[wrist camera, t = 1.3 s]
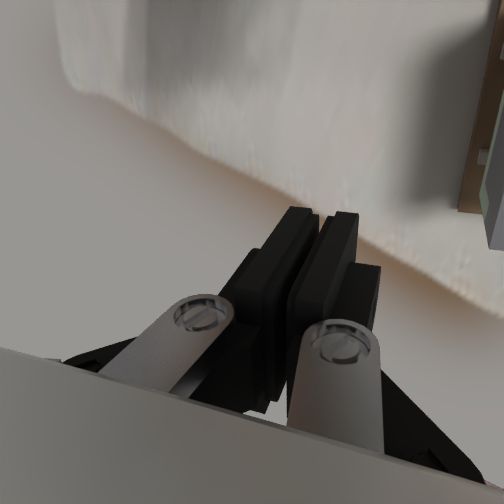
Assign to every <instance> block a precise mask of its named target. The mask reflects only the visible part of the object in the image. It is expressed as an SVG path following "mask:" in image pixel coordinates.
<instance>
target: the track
mask: <svg viewBox="0 0 504 504" xmlns="http://www.w3.org/2000/svg"><path fill="white" fill-rule="evenodd" d="M503 90H504V0H500V4H499V8H498V13H497V18H496V23H495V28H494V32H493V37H492V42H491V47H490V52H489V56H488V61H487V66H486V71H485V76H484V80H483V85H482V90H481V95H480V100H479V104H478V109H477V114H476V119H475V124H474V128H473V133H472V138H471V143H470V148H469V152H468V157H467V162H466V167H465V172H464V176H463V181H462V186H461V191H460V196H459V200H458V205H457V208H458V212H465V213H475V214H483V213H482V207H481V202H480V196H479V193H480V189H481V185H482V180H483V176H484V172H485V167H486V163H487V159H488V155H489V150H490V146H491V142H492V137H493V133H494V129H495V124H496V120H497V116H498V112H499V107H500V103H501V99H502V94H503Z"/></svg>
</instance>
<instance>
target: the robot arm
mask: <svg viewBox="0 0 504 504" xmlns="http://www.w3.org/2000/svg"><path fill="white" fill-rule="evenodd" d="M358 225H359V214H358V213H349V212H340V211H337V212H336V214H335V216H328V217H327V219H326V220H325V222H324V225H323V226H322V228H321V230H320V232H319V215H317V214H313V212H312V209H311V208H303V207H294V206H290V207H289V209H288V210H287V212H286V213H285V214H284V216H283V217H282V219H281V220H280V222H279V223H278V224H277V226H276V227H275V229H274V230H273V232H272V233H271V234H270V236H269V237H268V239H267V240H266V242H265V243H264V244H263V246H262V247H261V249H258V248H253V249H252V250H251V251H250V252H249V253H248V255H247V256H246V258H245V259H244V260H243V262H242V263H241V264H240V266H239V267H238V268H237V270H236V271H235V273H234V274H233V275H232V277H231V278H230V279H229V281H228V282H227V283H226V285H225V286H224V287H223V289H222V290H221V291H220V293H219V294H218V296H217V295H211V294H199V295H194V296H189V297H187V298H184V299H182V300H180V301H178V302H177V303H175V304H174V305H173V306H171V307H170V308H169V309H168V310H167V311H166V312H165V313H164V314H163V315H161V316H160V317H159V318H158V319H157V320H156V321H155V322H154V323H153V324H151V325H150V326H149V327H148V328H147V329H146V330H145V331H144V332H143V333H141V334H140V335H139V336H138V337H135V338H132V339H128V340H125V341H122V342H118V343H115V344H112V345H109V346H106V347H103V348H99V349H96V350H93V351H89V352H86V353H83V354H80V355H77V356H75V357H72V358H70V359H68V360H66V361H64V362H63V363H62V362H61V360H60V359H46V358H45V359H44V358H40V357H36V356H32V355H29V354H25V353H21V352H17V351H13V350H10V349H6V348H2V347H0V504H504V489H502V488H500V487H498V486H496V485H494V484H491V483H489V482H487V481H485V480H484V479H483V476H482V474H481V472H480V471H479V470H478V469H477V467H476V466H475V465H474V464H473V462H472V461H471V460H470V459H469V458H468V457H467V456H466V455H465V454H464V453H463V452H462V451H461V450H460V449H459V448H458V447H457V446H456V445H455V444H454V443H453V442H452V441H451V440H450V439H449V438H448V437H447V436H446V435H445V434H444V433H443V432H442V431H441V430H440V429H439V428H438V427H437V425H436V424H435V423H433V421H431V419H430V418H429V417H427V416H426V415H425V413H424V412H423V411H422V410H420V408H419V407H418V406H417V405H416V404H415V403H414V402H413V401H412V400H411V399H410V398H409V397H408V396H407V395H406V394H405V393H404V392H403V391H402V390H401V389H400V388H399V387H398V386H397V385H396V384H395V383H394V382H393V381H392V380H391V379H390V378H389V377H388V376H387V375H386V374H385V373H384V372H383V371H382V370H381V369H380V347H379V343H378V340H377V338H376V337H375V335H373V333H372V328H373V323H374V318H375V312H376V305H377V299H378V291H379V283H380V282H379V281H380V274H381V266H374V265H368V264H361V263H355V260H356V247H357V236H358ZM286 380H287V418H288V419H287V425H286V426H284V425H280V424H277V423H273V422H270V421H266V420H263V419H259V418H256V417H252V416H248V415H245V414H243V413H244V412H247V411H249V410H252V411H256V412H260V413H263V414H265V413H266V410H267V408H268V405H269V403H270V401H274V402H277V401H278V400H279V398H280V395H281V393H282V390H283V388H284V385H285V383H286Z"/></svg>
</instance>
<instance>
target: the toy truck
mask: <svg viewBox="0 0 504 504" xmlns="http://www.w3.org/2000/svg"><path fill="white" fill-rule="evenodd" d="M479 196H480V202H481V207H482V213H483V219H484V224H485V230H486V236H487V241H488V247H489V249H493V250H501V251H504V90H503V94H502V99H501V103H500V107H499V112H498V116H497V120H496V124H495V129H494V133H493V137H492V142H491V146H490V150H489V155H488V159H487V163H486V167H485V172H484V176H483V180H482V185H481V189H480V193H479Z"/></svg>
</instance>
